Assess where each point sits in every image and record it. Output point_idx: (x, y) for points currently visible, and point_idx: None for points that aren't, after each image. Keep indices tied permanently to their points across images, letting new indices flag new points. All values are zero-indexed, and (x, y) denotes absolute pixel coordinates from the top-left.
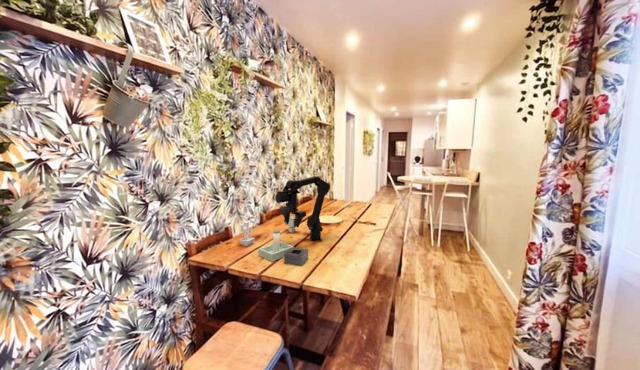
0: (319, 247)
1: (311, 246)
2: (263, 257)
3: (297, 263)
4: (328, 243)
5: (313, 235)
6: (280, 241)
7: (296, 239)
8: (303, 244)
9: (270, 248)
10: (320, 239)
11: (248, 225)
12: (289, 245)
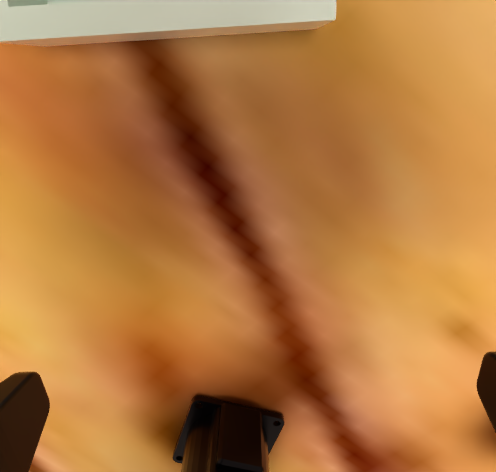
0: (35, 344)
1: (103, 312)
2: None
3: None
4: (75, 441)
5: (207, 455)
6: (332, 14)
7: (367, 330)
8: (201, 293)
9: None
10: (177, 452)
11: None
12: (68, 10)
